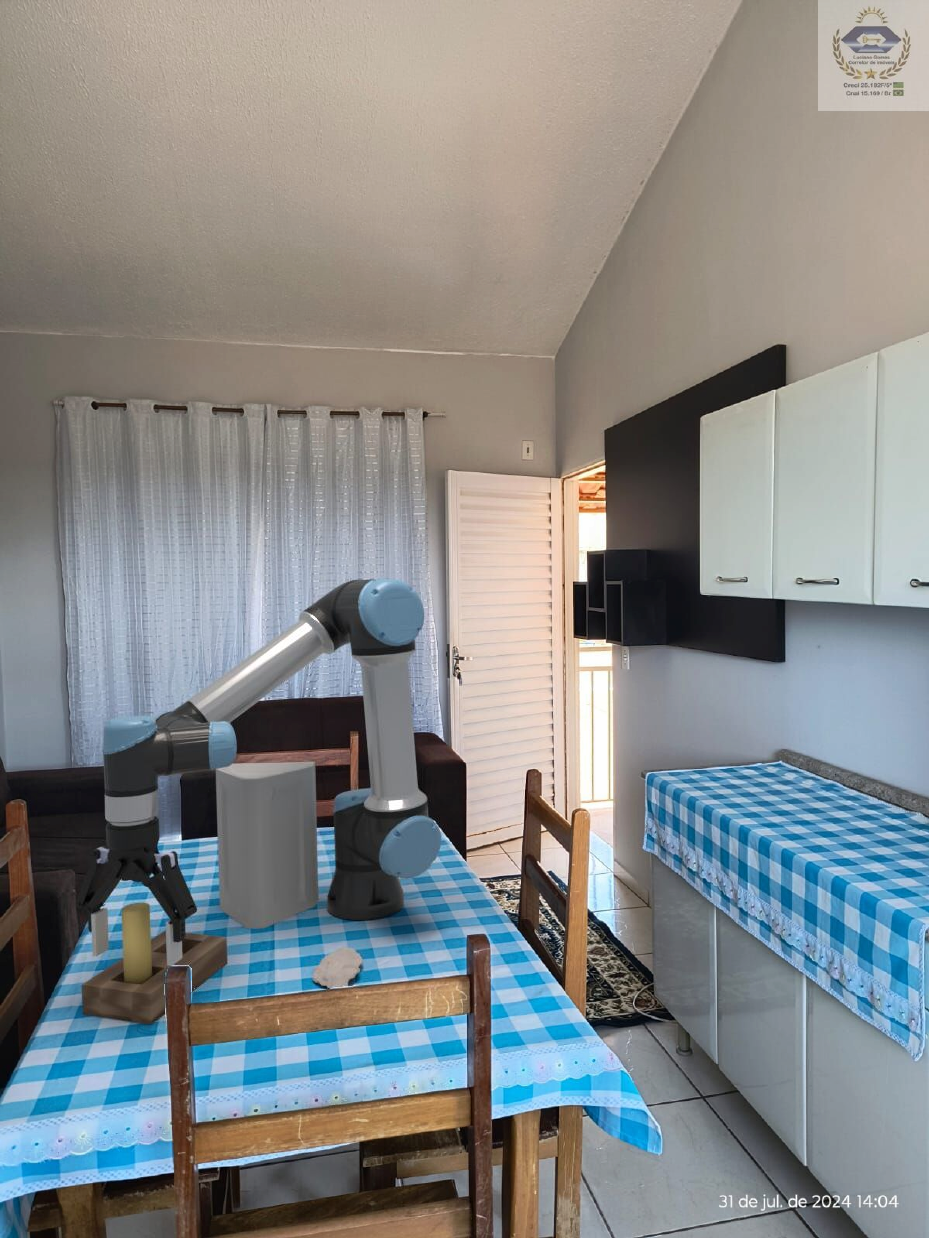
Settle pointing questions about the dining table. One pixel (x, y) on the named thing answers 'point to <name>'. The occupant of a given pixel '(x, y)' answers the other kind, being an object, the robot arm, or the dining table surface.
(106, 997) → the socket board
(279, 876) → the grey triangular prism
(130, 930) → the dowel
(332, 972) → the stone tool
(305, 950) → the dining table surface
